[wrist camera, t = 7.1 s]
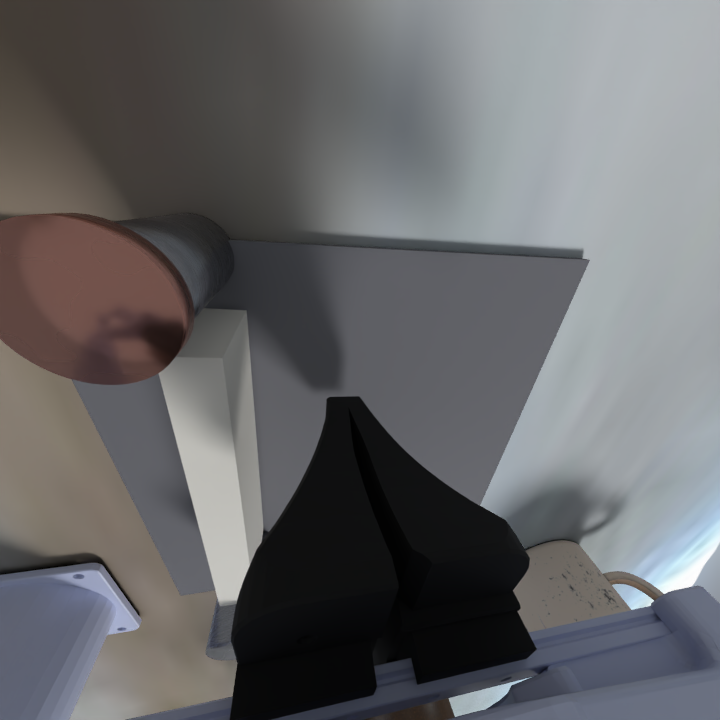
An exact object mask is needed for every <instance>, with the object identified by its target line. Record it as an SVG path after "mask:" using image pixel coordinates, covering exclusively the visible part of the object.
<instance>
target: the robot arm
mask: <svg viewBox="0 0 720 720" xmlns="http://www.w3.org/2000/svg"><path fill="white" fill-rule="evenodd" d="M529 564H530V557H529V556H528V554H527V553H526V551H525V549H524V548H523V546H522V544H521V543H520V541H519V539H518V538H517V536H516V534H515V533H514V532H513V530H512V529H511V527H510V526H509V524H508V523H507V522H506V520H504V519H502V518H501V517H499V516H497V515H495V514H494V513H492V512H490V511H488V510H487V509H485V508H483V507H481V506H479V505H478V504H476V503H474V502H473V501H471V500H469V499H468V498H466V497H465V496H463V495H462V494H460V493H459V492H457V491H455V490H454V489H452V488H451V487H450V486H448V485H447V484H445V483H444V482H443V481H441V480H440V479H439V478H437V477H436V476H435V475H433V474H432V473H431V472H429V471H428V470H427V469H426V468H424V467H423V466H422V465H421V464H419V463H418V462H417V461H416V460H415V459H414V458H413V457H412V456H410V455H409V454H408V453H407V452H406V451H405V450H404V449H403V448H402V447H401V446H400V445H399V444H398V443H397V442H396V441H395V440H394V439H393V437H392V436H391V435H390V434H389V433H388V432H387V431H386V430H385V428H384V427H383V426H382V425H381V424H380V422H379V421H378V420H377V419H376V418H375V416H374V415H373V414H372V412H371V411H370V410H369V408H368V407H367V406H366V404H365V403H364V402H363V400H362V399H361V398H360V397H359V396H347V397H329V398H327V399H326V417H325V422H324V425H323V429H322V433H321V436H320V439H319V441H318V444H317V447H316V450H315V452H314V455H313V457H312V459H311V462H310V464H309V466H308V468H307V470H306V472H305V474H304V476H303V478H302V480H301V482H300V484H299V486H298V487H297V489H296V491H295V493H294V494H293V496H292V498H291V499H290V501H289V503H288V504H287V506H286V507H285V509H284V511H283V512H282V514H281V515H280V517H279V518H278V520H277V521H276V523H275V524H274V526H273V527H272V529H271V530H270V531H269V533H268V534H267V536H266V537H265V538H264V540H263V541H262V542H261V544H260V545H259V547H258V548H257V550H256V552H255V554H254V557H253V559H252V561H251V564H250V566H249V568H248V571H247V573H246V576H245V578H244V581H243V584H242V586H241V589H240V592H239V596H238V599H237V603H236V607H235V612H234V619H233V625H232V631H231V643H232V646H233V650H234V653H235V656H236V660H237V663H238V664H237V671H236V678H235V685H234V692H233V697H228V698H224V699H219V700H215V701H210V702H205V703H201V704H196V705H191V706H187V707H182V708H178V709H173V710H168V711H164V712H159V713H155V714H150V715H145V716H141V717H136V718H131V719H127V720H364V719H368V718H372V717H376V716H379V715H383V714H387V713H391V712H395V711H399V710H403V709H407V708H411V707H415V706H419V705H423V704H427V703H431V702H435V701H439V700H443V699H447V698H450V697H454V696H458V695H462V694H466V693H470V692H474V691H478V690H482V689H486V688H490V687H494V686H498V685H502V684H506V683H510V682H514V681H517V680H521V679H525V678H529V677H531V678H529V679H527V680H524V681H522V682H519V683H517V684H514V685H512V686H511V688H510V690H509V692H508V693H507V694H506V695H505V696H504V697H503V698H502V699H501V700H500V701H498V702H496V703H495V704H493V705H492V706H490V707H489V708H487V709H486V710H482V711H477V712H473V713H469V714H465V715H462V716H458V717H454V718H450V719H447V720H720V604H719V602H717V601H716V600H715V599H714V598H713V597H712V596H711V595H710V594H709V593H708V592H707V591H706V590H705V589H704V588H703V587H701V586H694V587H689V588H684V589H679V590H674V591H671V592H668V593H666V594H664V595H662V596H660V597H659V598H657V599H656V600H655V601H654V602H652V603H651V606H648V607H644V608H639V609H635V610H630V611H625V612H621V613H616V614H612V615H607V616H602V617H598V618H593V619H588V620H584V621H579V622H575V623H570V624H565V625H561V626H556V627H552V628H547V629H542V630H538V631H533V632H528V631H527V629H526V627H525V625H524V623H523V621H522V619H521V617H520V616H519V614H518V612H517V611H519V610H520V609H521V607H520V603H519V601H518V599H517V597H516V596H515V594H514V592H513V590H514V588H515V587H516V586H517V585H518V583H519V582H520V581H521V579H522V578H523V577H524V575H525V574H526V572H527V570H528V568H529ZM140 624H141V618H140V617H139V616H138V614H137V613H136V611H135V610H134V609H133V607H132V606H131V604H130V603H129V601H128V600H127V599H126V597H125V596H124V594H123V593H122V592H121V590H120V589H119V587H118V586H117V585H116V583H115V582H114V580H113V579H112V578H111V576H110V575H109V573H108V572H107V571H106V569H105V568H104V566H103V565H102V564H99V563H85V564H78V565H71V566H63V567H56V568H48V569H41V570H33V571H26V572H18V573H11V574H3V575H0V720H69V719H70V716H71V714H72V712H73V710H74V707H75V705H76V703H77V701H78V699H79V696H80V694H81V692H82V690H83V687H84V685H85V683H86V681H87V678H88V676H89V674H90V672H91V670H92V667H93V665H94V663H95V661H96V658H97V656H98V654H99V652H100V650H101V647H102V645H103V643H104V641H105V638H106V636H107V635H109V634H115V633H121V632H127V631H132V630H136V629H137V628H139V626H140ZM533 676H534V677H533Z"/></svg>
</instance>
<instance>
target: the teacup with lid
mask: <svg viewBox="0 0 720 720" xmlns="http://www.w3.org/2000/svg"><path fill="white" fill-rule="evenodd" d="M526 553H527V554H528V556H529V557H530V564H529V568H528V570H527V572H526V574H525V575H524V577H523V578H522V579H521V581H520V582H519V583H518V585H517V586H516V587H515V588H514V590H513V592H514V594H515V596H516V597H517V599H518V601H519V603H520V607H521V609H520V610H519V611H517V612H518V614H519V616H520V617H521V619H522V621H523V623H524V625H525V627H526V629H527V631H528V632H533V631H538V630H542V629H547V628H552V627H556V626H561V625H565V624H570V623H575V622H579V621H584V620H588V619H593V618H598V617H602V616H607V615H612V614H616V613H621V612H625V611H630V610H631V609H630V608H629V606H628V605H627V604H626V603H625V601H624V600H623V599H622V598H621V596H620V595H619V594H618V593H617V591H616V590H615V589H614V588H613V586H612V585H613V584H626V585H630V586H632V587H635V588H637V589H639V590H640V591H642V592H644V593H645V594H647V595H648V596H649V597H651V598H652V599H653V600H654V601H655V600H656V599H657V598H659V597H660V596H662V595H664V594H663V593H662V592H661V591H660V590H658V589H657V588H656V587H654V586H653V585H652V584H650V583H648V582H647V581H645V580H643V579H642V578H639V577H637V576H635V575H633V574H630V573H626V572H619V571H615V572H608V573H604V574H602V573H601V571H600V570H599V569H598V568H597V566H596V565H595V564H594V563H593V561H592V560H591V559H590V558H589V556H588V555H587V554H586V553H585V551H584V550H583V549H582V548H581V547H580V546H579V545H578V544H577V543H574V542H572V541H566V540H559V541H551V542H547V543H543V544H540V545H537V546H534V547H532V548H530V549H528V550H526Z"/></svg>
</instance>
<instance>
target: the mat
mask: <svg viewBox="0 0 720 720" xmlns="http://www.w3.org/2000/svg"><path fill="white" fill-rule="evenodd" d="M229 243H230V245H231V247H232V250H233V254H234V270H233V273H232V276H231V278H230V280H229V281H228V282H227V283H226V284H225V285H224V287H223V288H222V289H221V290H220V291H219V292H218V293H217V294H216V295H215V296H214V298H213V299H212V300H211V301H210V302H209V303H208V304H207V305H206V306H205V307H204V308H211V309H230V310H247V322H248V335H249V348H250V361H251V373H252V386H253V399H254V412H255V425H256V437H257V450H258V463H259V476H260V488H261V501H262V514H263V531H267V532H269V531H270V530H271V529H272V527H273V526H274V524H275V523H276V521H277V520H278V518H279V517H280V515H281V514H282V512H283V511H284V509H285V507H286V506H287V504H288V503H289V501H290V499H291V498H292V496H293V494H294V493H295V491H296V489H297V487H298V486H299V484H300V482H301V480H302V478H303V476H304V474H305V472H306V470H307V468H308V466H309V464H310V462H311V459H312V457H313V455H314V452H315V450H316V447H317V444H318V441H319V439H320V436H321V433H322V429H323V425H324V422H325V417H326V399H327V398H329V397H347V396H359V397H360V398H361V399H362V400H363V402H364V403H365V404H366V406H367V407H368V408H369V410H370V411H371V412H372V414H373V415H374V416H375V418H376V419H377V420H378V421H379V422H380V424H381V425H382V426H383V427H384V428H385V430H386V431H387V432H388V433H389V434H390V435H391V436H392V437H393V439H394V440H395V441H396V442H397V443H398V444H399V445H400V446H401V447H402V448H403V449H404V450H405V451H406V452H407V453H408V454H409V455H410V456H412V457H413V458H414V459H415V460H416V461H417V462H418V463H419V464H421V465H422V466H423V467H424V468H426V469H427V470H428V471H429V472H431V473H432V474H433V475H435V476H436V477H437V478H439V479H440V480H441V481H443V482H444V483H445V484H447V485H448V486H450V487H451V488H452V489H454V490H455V491H457V492H459V493H460V494H462V495H463V496H465V497H466V498H468V499H469V500H471V501H473V502H474V503H476V504H478V505H479V506H480V504H481V502H482V500H483V497H484V495H485V493H486V491H487V488H488V486H489V484H490V482H491V479H492V477H493V475H494V473H495V471H496V468H497V466H498V464H499V462H500V459H501V457H502V455H503V453H504V450H505V448H506V446H507V444H508V441H509V439H510V437H511V435H512V433H513V430H514V428H515V426H516V424H517V421H518V419H519V417H520V415H521V412H522V410H523V408H524V406H525V404H526V401H527V399H528V397H529V395H530V392H531V390H532V388H533V386H534V383H535V381H536V379H537V377H538V374H539V372H540V370H541V368H542V366H543V363H544V361H545V359H546V357H547V354H548V352H549V350H550V348H551V345H552V343H553V341H554V339H555V337H556V334H557V332H558V330H559V328H560V325H561V323H562V321H563V319H564V316H565V314H566V312H567V310H568V308H569V305H570V303H571V301H572V299H573V296H574V294H575V292H576V290H577V287H578V285H579V283H580V281H581V278H582V276H583V274H584V272H585V270H586V267H587V265H588V263H589V261H590V260H587V259H579V258H560V257H542V256H523V255H505V254H487V253H468V252H450V251H431V250H413V249H394V248H376V247H357V246H339V245H320V244H302V243H283V242H265V241H246V240H229ZM72 381H73V383H74V385H75V387H76V389H77V391H78V393H79V395H80V397H81V399H82V401H83V403H84V405H85V407H86V409H87V411H88V413H89V415H90V417H91V419H92V421H93V423H94V425H95V427H96V429H97V431H98V433H99V435H100V437H101V439H102V441H103V442H104V444H105V446H106V448H107V450H108V452H109V454H110V456H111V458H112V460H113V462H114V464H115V466H116V468H117V470H118V472H119V474H120V476H121V478H122V480H123V482H124V484H125V486H126V488H127V490H128V492H129V494H130V496H131V498H132V500H133V502H134V504H135V506H136V508H137V510H138V512H139V514H140V516H141V518H142V520H143V522H144V524H145V526H146V528H147V530H148V532H149V534H150V536H151V538H152V540H153V542H154V544H155V546H156V548H157V550H158V551H159V553H160V555H161V557H162V559H163V561H164V563H165V565H166V567H167V569H168V571H169V573H170V575H171V577H172V579H173V581H174V583H175V585H176V587H177V589H178V591H179V593H180V595H188V594H194V593H200V592H206V591H213V590H215V586H214V583H213V579H212V575H211V571H210V567H209V564H208V560H207V556H206V552H205V548H204V545H203V541H202V537H201V533H200V529H199V526H198V522H197V518H196V514H195V510H194V506H193V503H192V499H191V495H190V491H189V487H188V484H187V480H186V476H185V472H184V468H183V465H182V461H181V457H180V453H179V449H178V446H177V442H176V438H175V434H174V430H173V427H172V423H171V419H170V415H169V411H168V408H167V404H166V400H165V396H164V392H163V389H162V385H161V381H160V377H159V373H158V374H156V375H155V376H152V377H150V378H148V379H146V380H142V381H139V382H135V383H130V384H122V385H101V384H91V383H86V382H81V381H77V380H73V379H72Z"/></svg>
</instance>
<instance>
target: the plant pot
mask: <svg viewBox="0 0 720 720" xmlns="http://www.w3.org/2000/svg"><path fill="white" fill-rule="evenodd" d="M454 717H455V716H454V713H453V711H452V708H451V705H450V702H449V699H448V698H447V699H443V700H439V701H435V702H431V703H427V704H423V705H419V706H415V707H411V708H407V709H403V710H399V711H395V712H391V713H387V714H383V715H379V716H376V717H372V718H368V719H364V720H447V719H450V718H454Z"/></svg>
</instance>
